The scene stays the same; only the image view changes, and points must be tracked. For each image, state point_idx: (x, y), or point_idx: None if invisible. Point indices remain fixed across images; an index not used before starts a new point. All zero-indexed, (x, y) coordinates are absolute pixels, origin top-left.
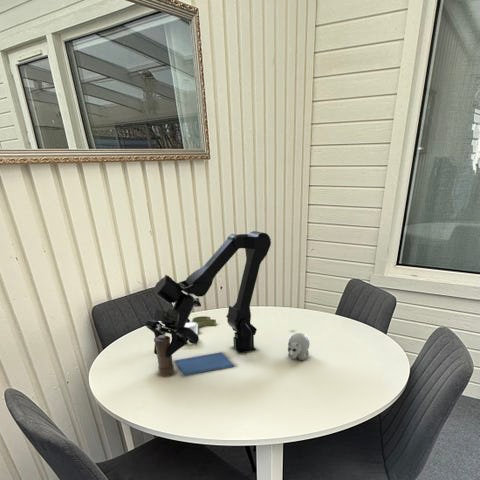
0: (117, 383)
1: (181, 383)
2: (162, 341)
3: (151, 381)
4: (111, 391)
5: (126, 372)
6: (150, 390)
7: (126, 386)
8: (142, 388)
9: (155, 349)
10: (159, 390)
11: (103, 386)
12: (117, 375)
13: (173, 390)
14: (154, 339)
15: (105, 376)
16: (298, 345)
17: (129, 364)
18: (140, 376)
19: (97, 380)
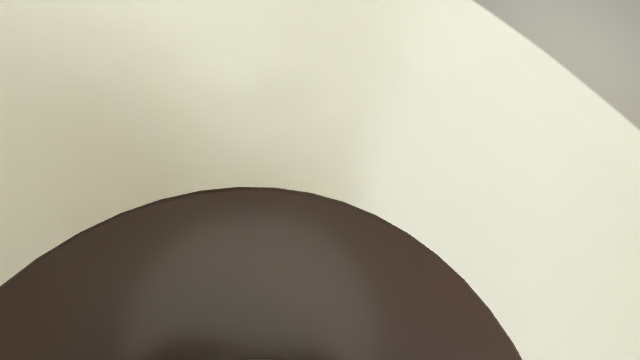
0: (449, 81)
1: (9, 236)
2: (56, 256)
3: (275, 175)
4: (400, 3)
5: (532, 225)
6: (197, 68)
7: (374, 67)
8: (265, 75)
9: None
10: (135, 85)
11: (482, 33)
12: (539, 166)
13: (27, 115)
14: (441, 276)
15: (581, 129)
16: None
17: (635, 354)
18: (402, 211)
19: (569, 77)
